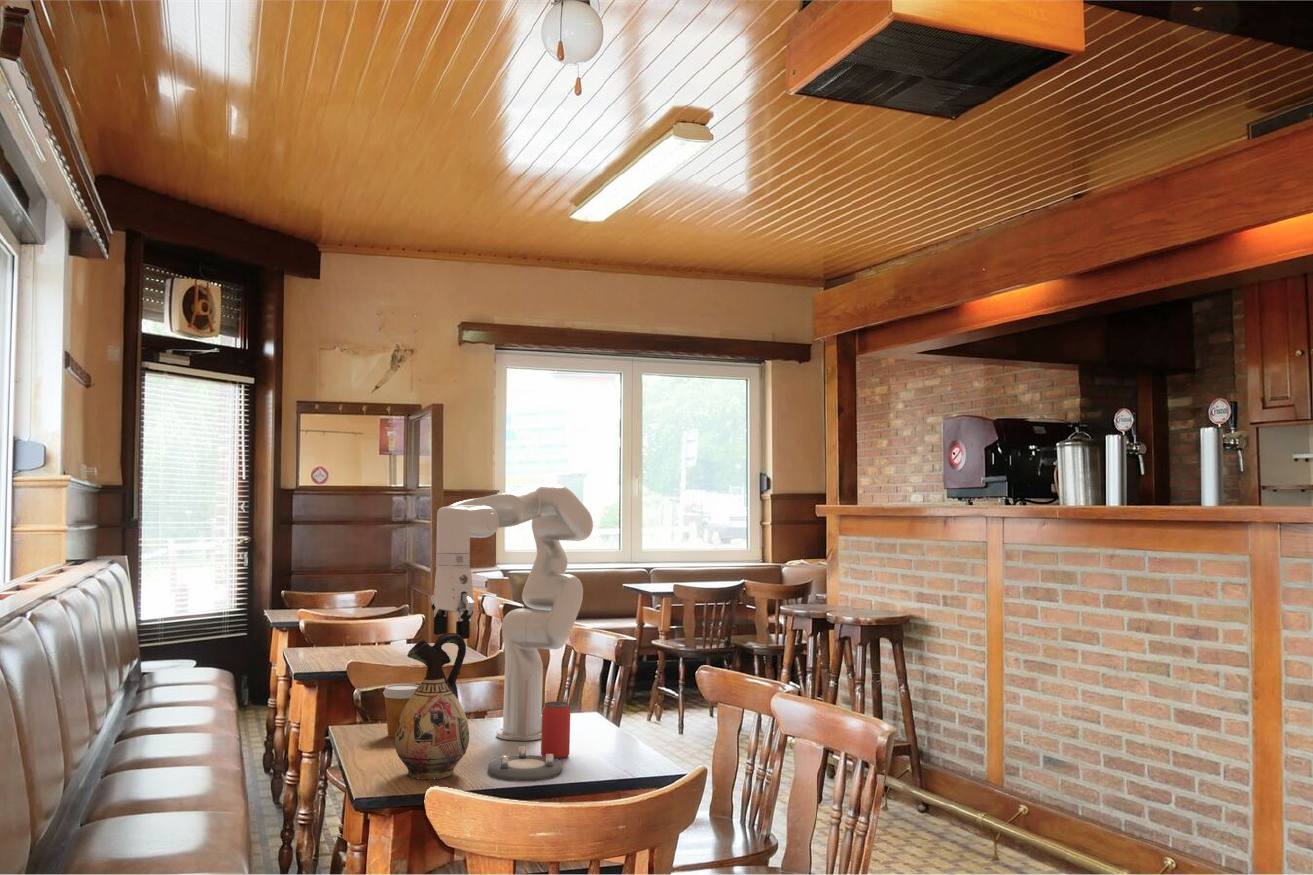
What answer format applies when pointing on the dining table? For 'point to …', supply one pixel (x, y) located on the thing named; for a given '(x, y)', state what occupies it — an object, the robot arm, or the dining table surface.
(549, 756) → the steel pins
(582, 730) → the dining table surface
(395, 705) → the disposable coffee cup
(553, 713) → the beer can
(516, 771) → the pin plate
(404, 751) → the ceramic jug
